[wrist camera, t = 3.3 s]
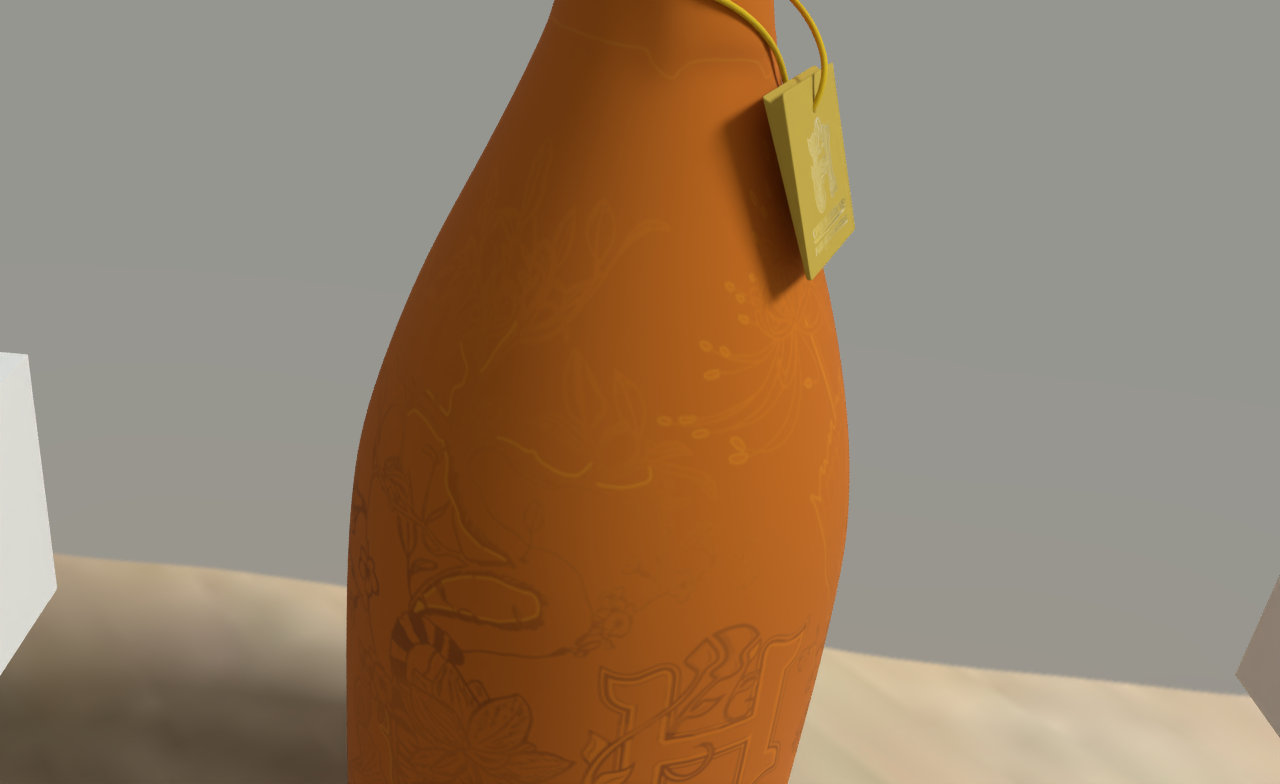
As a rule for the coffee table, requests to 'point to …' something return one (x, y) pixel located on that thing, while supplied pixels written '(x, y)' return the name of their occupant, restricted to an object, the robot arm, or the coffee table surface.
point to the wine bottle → (613, 424)
